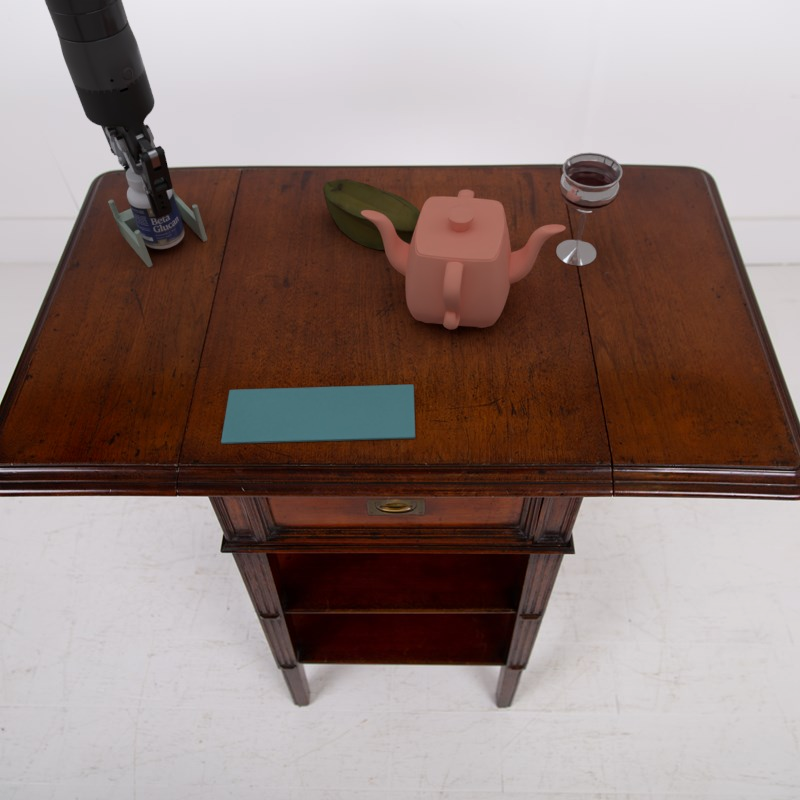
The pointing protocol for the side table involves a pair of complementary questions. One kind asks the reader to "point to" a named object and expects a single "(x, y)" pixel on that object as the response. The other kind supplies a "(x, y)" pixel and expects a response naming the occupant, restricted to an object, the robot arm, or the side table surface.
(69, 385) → the side table surface
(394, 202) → the fruit
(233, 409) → the strip
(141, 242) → the rack
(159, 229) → the pill bottle
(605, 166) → the wineglass
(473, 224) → the teapot
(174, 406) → the side table surface
